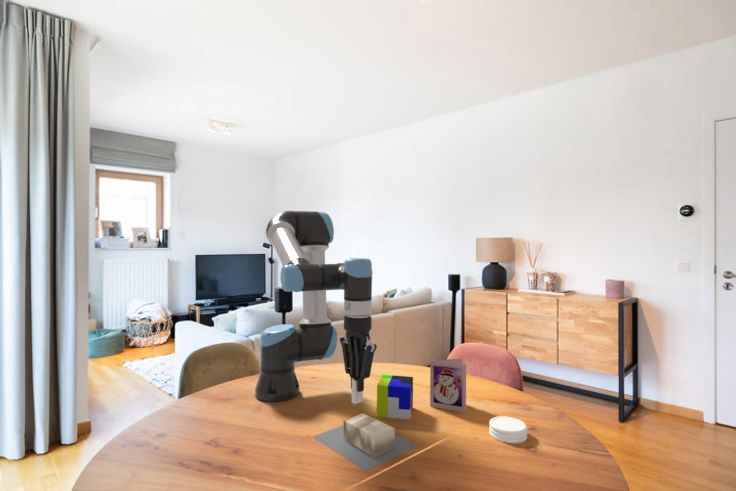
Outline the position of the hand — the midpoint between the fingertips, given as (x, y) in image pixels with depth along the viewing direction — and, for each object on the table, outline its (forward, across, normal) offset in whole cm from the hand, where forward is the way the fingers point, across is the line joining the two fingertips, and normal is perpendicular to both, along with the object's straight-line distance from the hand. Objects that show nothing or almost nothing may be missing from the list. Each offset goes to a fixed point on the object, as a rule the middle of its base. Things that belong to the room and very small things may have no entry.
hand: (357, 402), depth 111 cm
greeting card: (+10, +3, +37) cm, 38 cm away
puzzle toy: (+10, -5, +20) cm, 23 cm away
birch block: (+7, -2, 0) cm, 7 cm away
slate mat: (+10, +3, 0) cm, 10 cm away
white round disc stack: (+10, +26, +33) cm, 43 cm away
